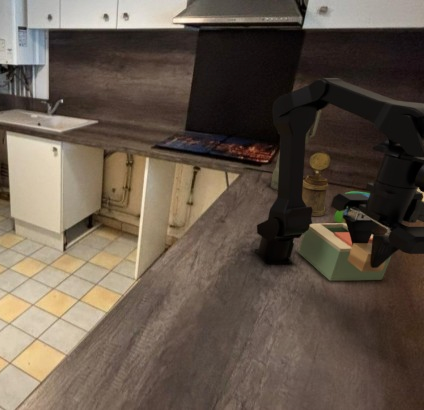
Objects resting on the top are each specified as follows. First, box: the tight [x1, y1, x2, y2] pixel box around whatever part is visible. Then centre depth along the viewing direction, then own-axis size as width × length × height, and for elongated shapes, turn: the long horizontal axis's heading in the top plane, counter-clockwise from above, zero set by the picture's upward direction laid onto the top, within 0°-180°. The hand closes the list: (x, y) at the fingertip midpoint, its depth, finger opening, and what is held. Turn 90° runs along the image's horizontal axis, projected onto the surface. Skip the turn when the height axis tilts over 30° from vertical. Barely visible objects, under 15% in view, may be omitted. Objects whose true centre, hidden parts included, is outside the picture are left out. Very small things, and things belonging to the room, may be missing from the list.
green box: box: [298, 227, 393, 282], centre depth 85 cm, size 12×12×8 cm
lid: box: [309, 222, 374, 252], centre depth 83 cm, size 12×12×1 cm
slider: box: [334, 232, 373, 247], centre depth 80 cm, size 7×6×2 cm
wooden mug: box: [302, 150, 332, 217], centre depth 115 cm, size 9×14×18 cm, turn 149°
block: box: [348, 243, 386, 271], centre depth 66 cm, size 4×4×4 cm
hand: (365, 261), depth 67 cm, fingers closed on block, 4 cm apart
